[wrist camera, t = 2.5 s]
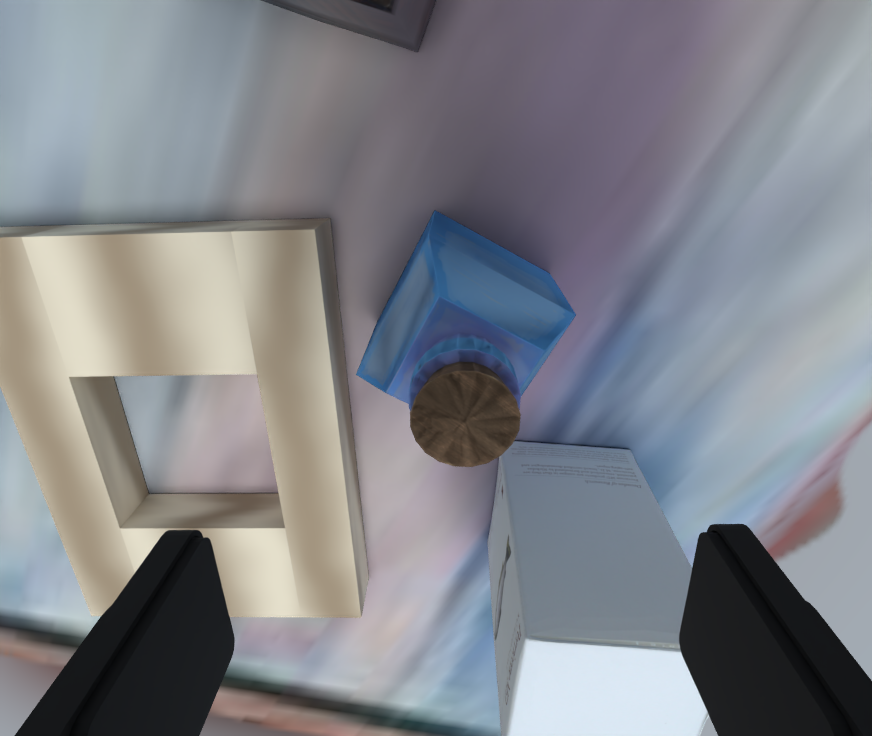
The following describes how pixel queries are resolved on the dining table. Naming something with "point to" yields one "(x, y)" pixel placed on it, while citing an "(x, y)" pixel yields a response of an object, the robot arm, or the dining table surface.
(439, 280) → the perfume bottle
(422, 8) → the coffee grinder
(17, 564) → the dining table surface
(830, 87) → the dining table surface
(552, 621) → the supplement box
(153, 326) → the hole board
